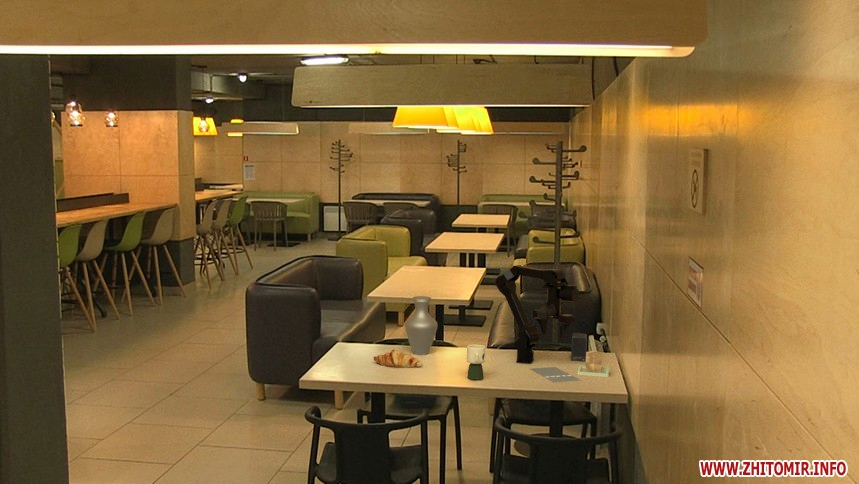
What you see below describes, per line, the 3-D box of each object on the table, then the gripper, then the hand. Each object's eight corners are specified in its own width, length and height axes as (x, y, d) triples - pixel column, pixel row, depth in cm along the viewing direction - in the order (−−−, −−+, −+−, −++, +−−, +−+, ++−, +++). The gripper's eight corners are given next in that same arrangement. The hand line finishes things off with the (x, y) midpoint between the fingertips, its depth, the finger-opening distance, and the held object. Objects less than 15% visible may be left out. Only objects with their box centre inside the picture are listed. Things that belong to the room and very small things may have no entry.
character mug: (485, 382, 324) (486, 349, 323) (467, 382, 324) (468, 349, 323) (483, 375, 335) (484, 343, 334) (465, 375, 335) (466, 343, 333)
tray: (577, 378, 334) (577, 371, 334) (578, 371, 346) (579, 365, 345) (608, 380, 331) (608, 374, 331) (608, 373, 343) (609, 367, 343)
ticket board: (528, 372, 342) (528, 368, 342) (555, 370, 345) (555, 366, 345) (553, 386, 321) (553, 381, 321) (581, 384, 325) (581, 380, 325)
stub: (585, 374, 338) (586, 352, 337) (593, 372, 342) (594, 350, 341) (593, 376, 335) (594, 354, 334) (601, 374, 339) (602, 352, 338)
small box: (585, 361, 362) (586, 337, 362) (570, 360, 364) (571, 336, 363) (586, 356, 373) (587, 333, 372) (571, 355, 374) (572, 332, 373)
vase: (436, 357, 364) (438, 300, 362) (403, 356, 364) (404, 299, 362) (437, 350, 378) (438, 295, 376) (405, 349, 378) (406, 294, 376)
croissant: (423, 374, 349) (426, 355, 352) (419, 368, 340) (422, 349, 343) (374, 369, 353) (377, 351, 356) (369, 363, 344) (372, 344, 347)
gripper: (523, 298, 350) (522, 335, 352) (558, 304, 336) (557, 342, 338) (541, 295, 358) (540, 332, 359) (576, 301, 344) (575, 339, 345)
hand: (552, 336), depth 350 cm, fingers open, 9 cm apart
